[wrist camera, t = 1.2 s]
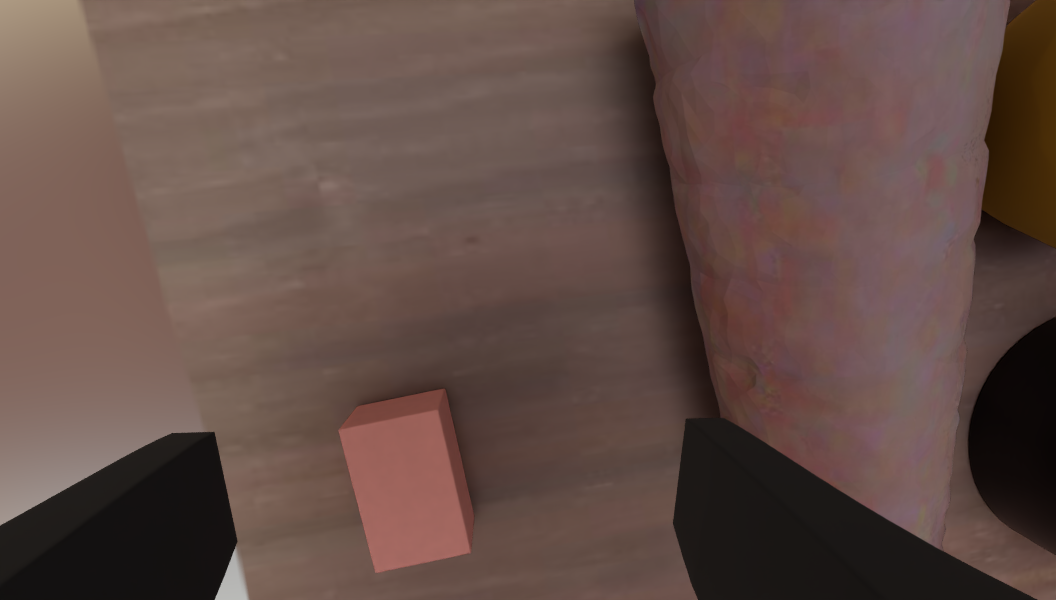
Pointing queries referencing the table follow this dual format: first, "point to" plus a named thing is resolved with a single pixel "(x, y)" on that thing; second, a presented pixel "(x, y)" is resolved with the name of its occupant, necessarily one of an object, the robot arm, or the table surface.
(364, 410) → the salmon pink cuboid
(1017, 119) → the apple
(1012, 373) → the black cylindrical stand
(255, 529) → the table surface
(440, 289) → the table surface
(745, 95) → the food
